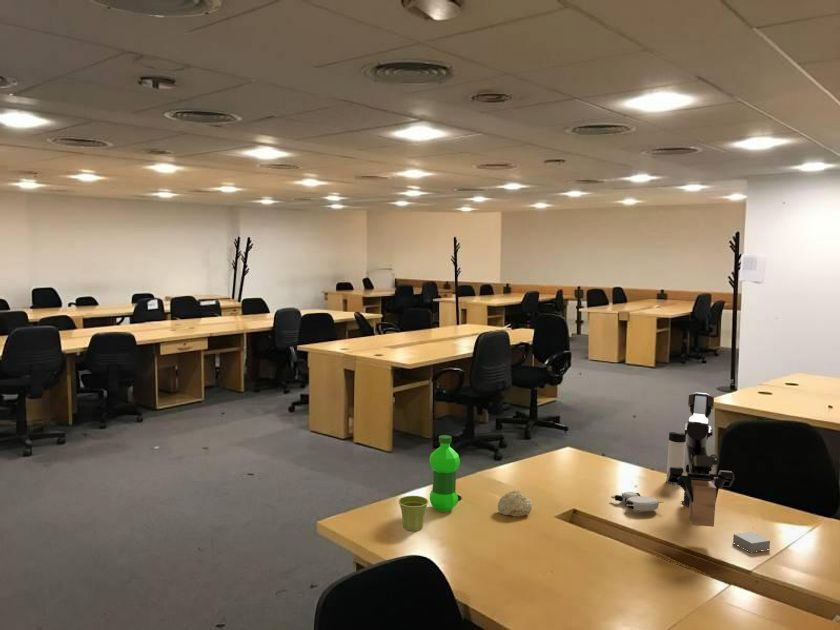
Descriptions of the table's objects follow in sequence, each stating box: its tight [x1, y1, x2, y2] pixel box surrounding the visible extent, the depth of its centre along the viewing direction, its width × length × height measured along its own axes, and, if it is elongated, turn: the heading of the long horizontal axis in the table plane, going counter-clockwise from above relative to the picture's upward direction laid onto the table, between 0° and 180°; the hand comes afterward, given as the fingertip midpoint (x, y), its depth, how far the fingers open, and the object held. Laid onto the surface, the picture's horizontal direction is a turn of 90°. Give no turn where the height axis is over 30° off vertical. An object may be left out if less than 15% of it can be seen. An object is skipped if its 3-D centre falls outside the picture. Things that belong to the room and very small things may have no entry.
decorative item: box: [497, 490, 533, 517], centre depth 224 cm, size 12×9×10 cm
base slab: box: [732, 531, 771, 553], centre depth 202 cm, size 7×7×3 cm
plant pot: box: [398, 495, 429, 532], centre depth 210 cm, size 9×9×9 cm
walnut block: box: [688, 480, 717, 528], centre depth 203 cm, size 6×6×12 cm
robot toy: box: [610, 491, 665, 514], centre depth 232 cm, size 12×4×15 cm
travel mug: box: [665, 431, 687, 485], centre depth 259 cm, size 6×7×20 cm
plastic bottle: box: [429, 434, 461, 513], centre depth 226 cm, size 10×10×25 cm
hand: (703, 502), depth 202 cm, fingers closed on walnut block, 6 cm apart
